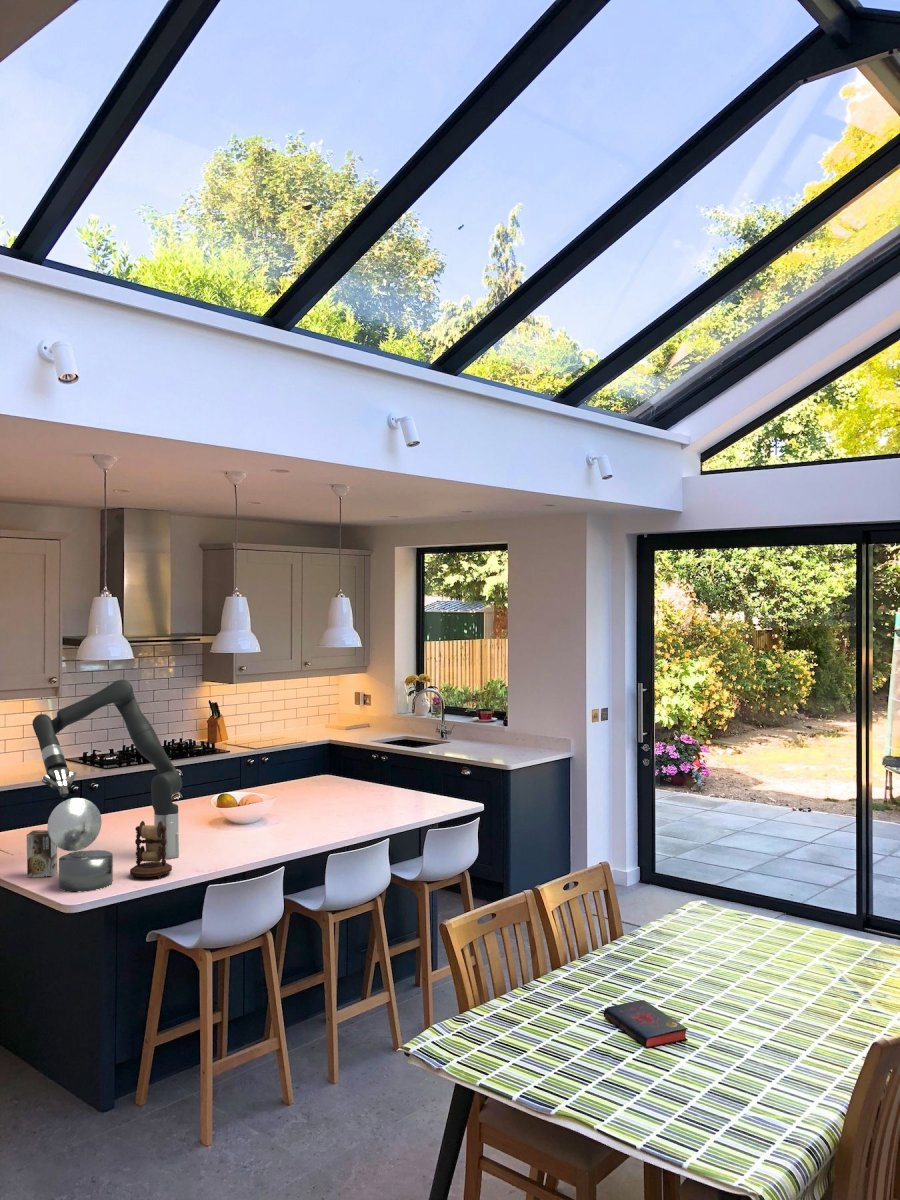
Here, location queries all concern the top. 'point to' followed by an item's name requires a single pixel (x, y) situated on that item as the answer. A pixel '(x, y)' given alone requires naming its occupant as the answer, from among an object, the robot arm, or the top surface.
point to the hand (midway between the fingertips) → (64, 795)
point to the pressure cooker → (85, 870)
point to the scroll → (151, 851)
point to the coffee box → (41, 854)
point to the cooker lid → (74, 824)
